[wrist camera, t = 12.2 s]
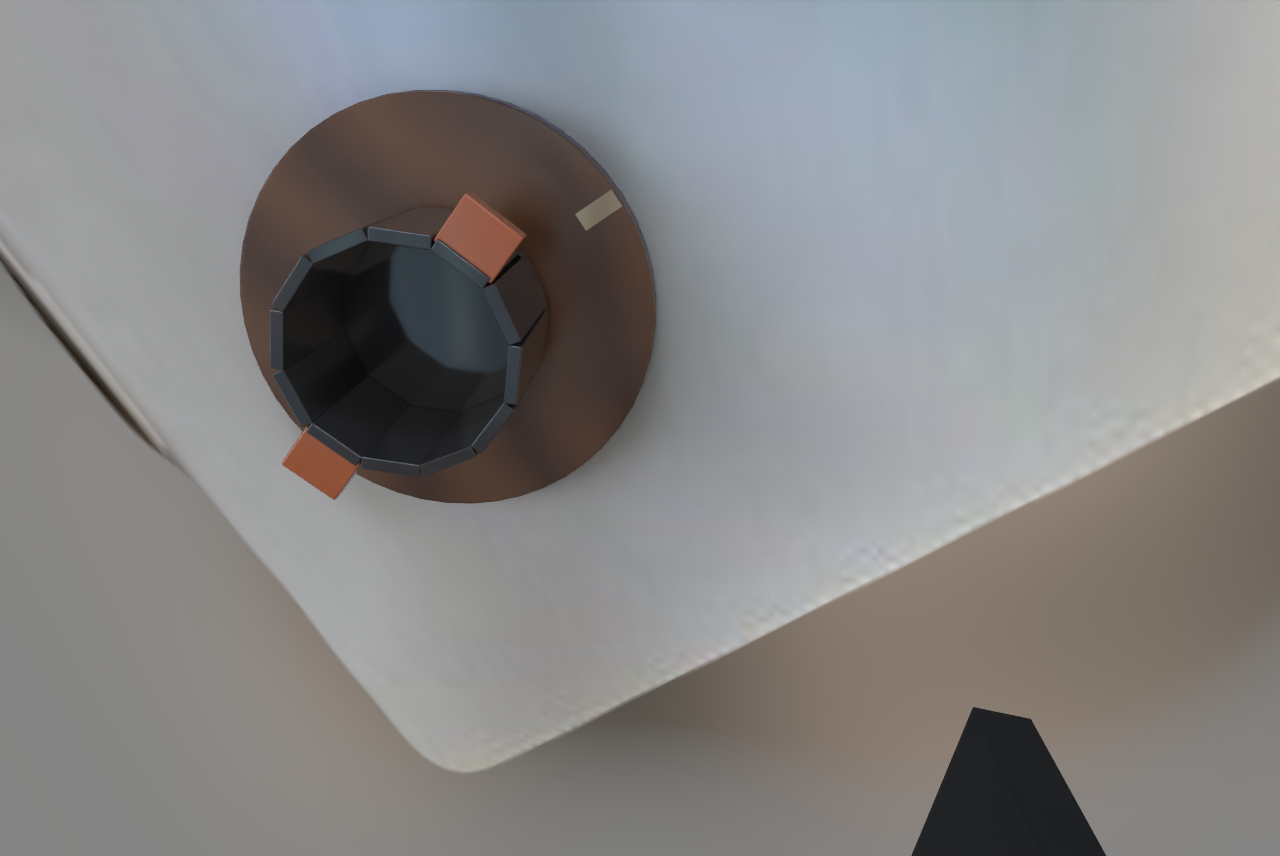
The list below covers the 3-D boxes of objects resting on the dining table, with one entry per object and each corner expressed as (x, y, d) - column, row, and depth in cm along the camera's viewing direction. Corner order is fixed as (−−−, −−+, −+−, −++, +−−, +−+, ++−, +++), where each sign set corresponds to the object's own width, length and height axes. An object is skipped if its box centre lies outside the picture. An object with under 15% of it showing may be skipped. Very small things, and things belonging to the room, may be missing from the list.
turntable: (422, 553, 44) (412, 569, 42) (172, 246, 39) (151, 251, 37) (733, 366, 39) (734, 376, 38) (495, -4, 35) (486, -9, 33)
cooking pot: (617, 264, 36) (601, 299, 30) (450, 480, 40) (405, 551, 34) (437, 123, 35) (380, 128, 29) (282, 362, 39) (201, 413, 32)
